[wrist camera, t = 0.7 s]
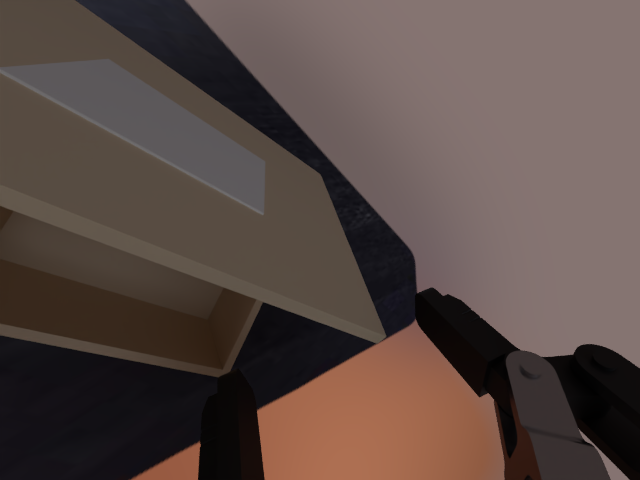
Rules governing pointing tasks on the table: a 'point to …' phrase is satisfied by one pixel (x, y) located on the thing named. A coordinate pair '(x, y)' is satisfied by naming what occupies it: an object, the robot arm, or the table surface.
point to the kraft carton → (114, 301)
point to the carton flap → (164, 169)
